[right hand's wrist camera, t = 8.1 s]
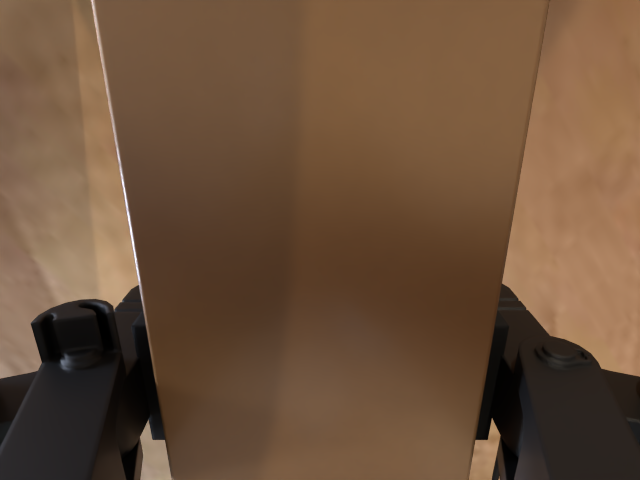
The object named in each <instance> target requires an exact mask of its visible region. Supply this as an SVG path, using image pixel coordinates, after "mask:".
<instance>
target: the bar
mask: <svg viewBox="0 0 640 480" xmlns="http://www.w3.org/2000/svg"><path fill="white" fill-rule="evenodd" d="M549 1H550V0H91V3H92V9H93V15H94V21H95V27H96V33H97V39H98V45H99V51H100V57H101V63H102V68H103V74H104V80H105V86H106V92H107V98H108V104H109V110H110V116H111V122H112V128H113V134H114V140H115V146H116V151H117V157H118V163H119V169H120V175H121V181H122V187H123V193H124V199H125V205H126V211H127V217H128V223H129V229H130V234H131V240H132V246H133V252H134V258H135V264H136V270H137V276H138V282H139V288H140V294H141V300H142V306H143V312H144V317H145V323H146V329H147V335H148V341H149V347H150V353H151V359H152V365H153V371H154V377H155V383H156V389H157V394H158V400H159V406H160V412H161V418H162V424H163V430H164V436H165V442H166V448H167V454H168V460H169V466H170V472H171V477H172V480H469V474H470V468H471V462H472V457H473V451H474V445H475V439H476V433H477V427H478V421H479V415H480V409H481V403H482V397H483V391H484V386H485V380H486V374H487V368H488V362H489V356H490V350H491V344H492V338H493V332H494V326H495V320H496V315H497V309H498V303H499V297H500V291H501V285H502V279H503V273H504V267H505V261H506V255H507V249H508V244H509V238H510V232H511V226H512V220H513V214H514V208H515V202H516V196H517V190H518V184H519V178H520V173H521V167H522V161H523V155H524V149H525V143H526V137H527V131H528V125H529V119H530V113H531V107H532V101H533V96H534V90H535V84H536V78H537V72H538V66H539V60H540V54H541V48H542V42H543V36H544V30H545V25H546V19H547V13H548V7H549Z"/></svg>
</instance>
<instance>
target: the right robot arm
mask: <svg viewBox="0 0 640 480" xmlns="http://www.w3.org/2000/svg"><path fill="white" fill-rule="evenodd" d="M114 310H115V311H114ZM31 326H32V330H33V333H34V336H35V340H36V343H37V347H38V350H39V354H40V357H41V361H42V364H41V366H40V368H39V370H38V371H36V372H32V373H27V374H22V375H17V376H12V377H7V378H2V379H0V480H140V476H141V468H142V460H143V452H142V446H141V441H140V436H141V434H142V432H143V430H144V427H145V425H146V423H147V421H148V419H149V423H150V429H151V434H152V439H153V440H165V436H164V430H163V424H162V418H161V412H160V406H159V400H158V394H157V389H156V383H155V377H154V371H153V365H152V359H151V353H150V347H149V341H148V335H147V329H146V323H145V317H144V312H143V306H142V300H141V294H140V288H139V285H138V286H136V287H134V288H133V289H131V290H130V292H129V293H128V294H127V295H126V296H125V298H124V299H123V300H122V302H120V303H119V305H118V306H117V307H116V308H115V309H113V306H112V305H111V304H110V303H108V302H107V301H102V300H97V299H86V300H77V301H72V302H67V303H64V304H61V305H58V306H56V307H53V308H50V309H49V310H47V311H45V312H44V313H42V314H40V315H38V316H37V317H36V318H35V319H34V320H33V321H32V322H31ZM492 418H493V420H494V423H495V425H496V427H497V429H498V431H499V433H500V435H501V436H500V441H499V446H498V451H497V456H496V461H495V466H494V470H493V476H492V480H498V479H499V476H500V480H640V377H638V376H633V375H628V374H623V373H618V372H613V371H608V370H604V369H601V367H600V365H599V363H598V362H597V360H596V359H595V358H594V357H593V356H592V354H591V353H589V352H588V351H586V350H585V349H584V348H582V347H581V346H579V345H577V344H574V343H572V342H570V341H567V340H565V339H561V338H556V337H552V336H550V335H549V334H548V333H547V332H546V331H545V329H544V328H543V327H542V326H541V325H540V324H539V322H538V321H537V320H536V319H535V318H534V317H533V315H532V314H531V313H530V312H529V311H528V310H526V307H525V306H524V305H523V304H522V302H521V301H518V298H517V297H516V295H515V294H514V293H513V292H512V291H511V289H510V288H509V287H507V286H505V285H504V284H502V285H501V291H500V297H499V303H498V309H497V315H496V320H495V326H494V332H493V338H492V344H491V350H490V356H489V362H488V368H487V374H486V380H485V386H484V391H483V397H482V403H481V409H480V415H479V421H478V427H477V433H476V439H475V440H488V435H489V430H490V425H491V420H492Z"/></svg>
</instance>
